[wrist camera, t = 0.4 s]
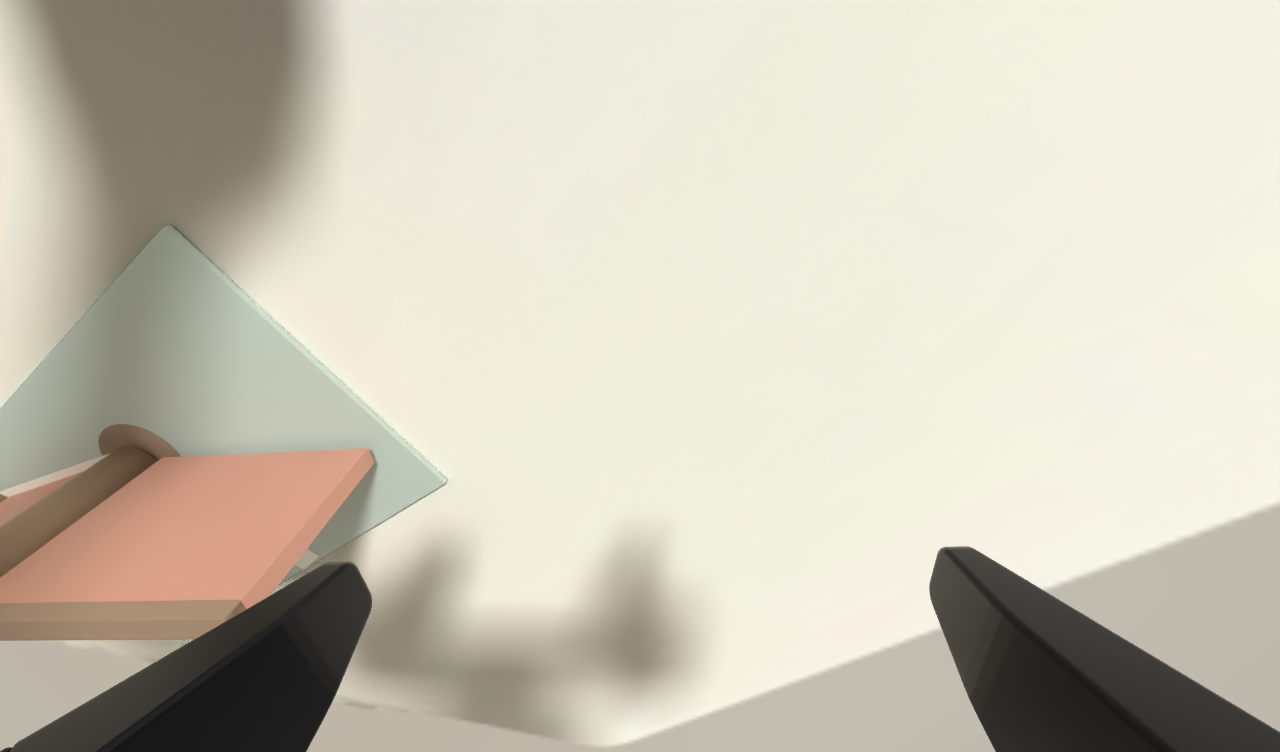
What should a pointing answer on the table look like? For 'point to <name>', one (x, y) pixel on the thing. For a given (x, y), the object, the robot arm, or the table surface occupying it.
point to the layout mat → (199, 391)
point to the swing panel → (165, 542)
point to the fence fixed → (9, 507)
